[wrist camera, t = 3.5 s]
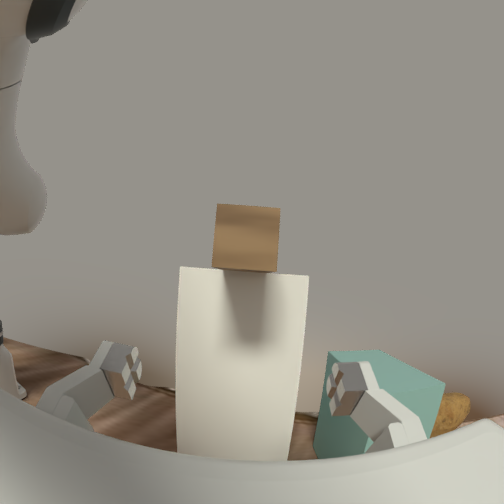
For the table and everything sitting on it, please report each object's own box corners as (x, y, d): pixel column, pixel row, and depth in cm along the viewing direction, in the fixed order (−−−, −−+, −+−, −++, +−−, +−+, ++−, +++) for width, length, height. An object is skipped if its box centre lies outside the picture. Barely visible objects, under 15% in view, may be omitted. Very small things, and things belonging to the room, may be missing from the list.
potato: (473, 438, 26) (487, 397, 27) (405, 456, 27) (420, 412, 28) (448, 418, 36) (458, 380, 36) (386, 428, 37) (396, 389, 38)
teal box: (341, 513, 18) (378, 395, 20) (312, 445, 34) (328, 351, 36) (403, 498, 18) (445, 383, 20) (360, 441, 34) (379, 349, 36)
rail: (276, 271, 17) (280, 208, 18) (211, 266, 17) (217, 203, 18) (259, 274, 39) (261, 245, 40) (230, 272, 39) (232, 243, 40)
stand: (179, 483, 24) (180, 266, 26) (199, 419, 41) (206, 270, 44) (281, 490, 24) (309, 275, 26) (269, 424, 42) (283, 276, 44)
